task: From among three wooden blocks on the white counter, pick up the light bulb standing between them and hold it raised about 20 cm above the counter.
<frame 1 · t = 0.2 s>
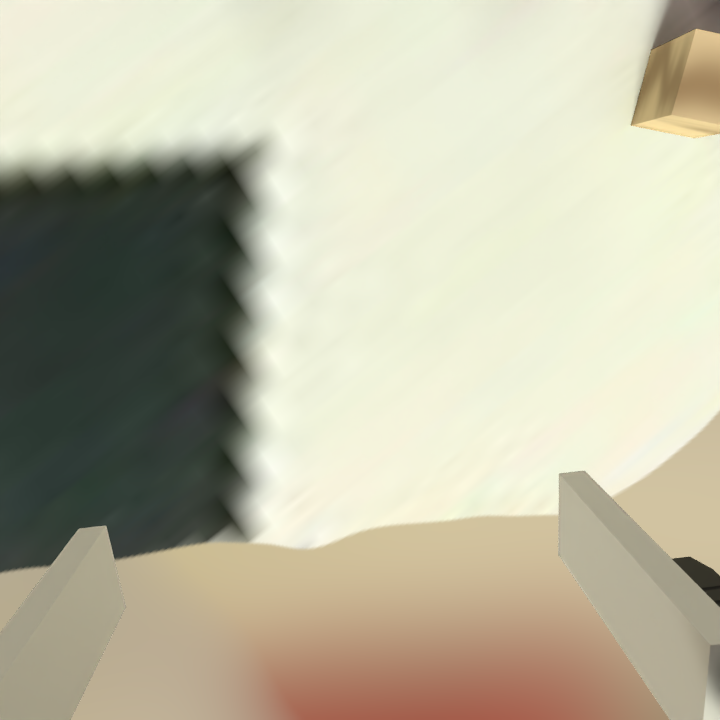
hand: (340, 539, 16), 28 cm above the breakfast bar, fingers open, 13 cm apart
oak block: (672, 95, 40), on the breakfast bar
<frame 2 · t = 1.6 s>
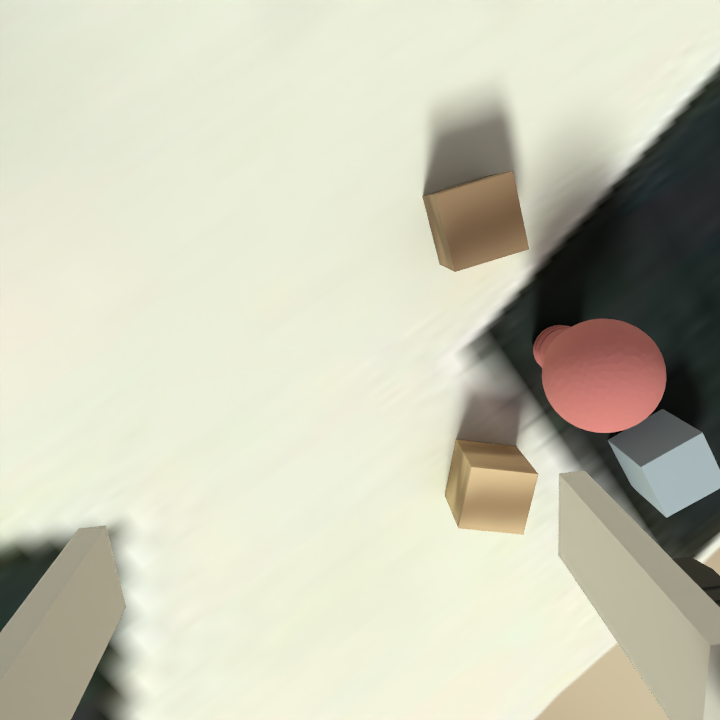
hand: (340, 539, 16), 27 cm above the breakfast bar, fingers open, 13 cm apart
walnut block: (464, 220, 40), on the breakfast bar
oak block: (479, 470, 46), on the breakfast bar
slate-blue painted block: (646, 447, 46), on the breakfast bar
light bulb: (548, 343, 43), on the breakfast bar
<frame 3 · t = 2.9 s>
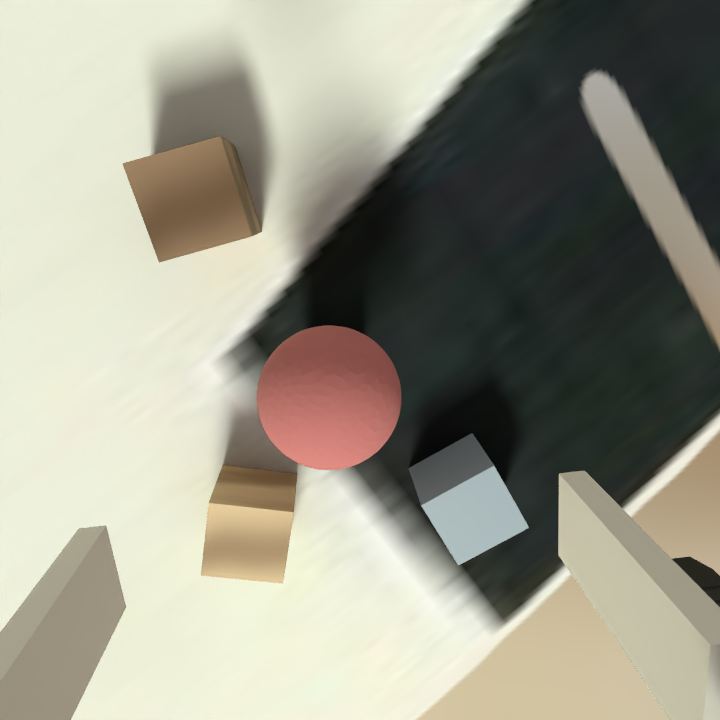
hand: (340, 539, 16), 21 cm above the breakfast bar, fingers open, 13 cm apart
walnut block: (208, 201, 33), on the breakfast bar
oak block: (256, 501, 38), on the breakfast bar
slate-blue painted block: (456, 478, 39), on the breakfast bar
light bulb: (327, 352, 36), on the breakfast bar
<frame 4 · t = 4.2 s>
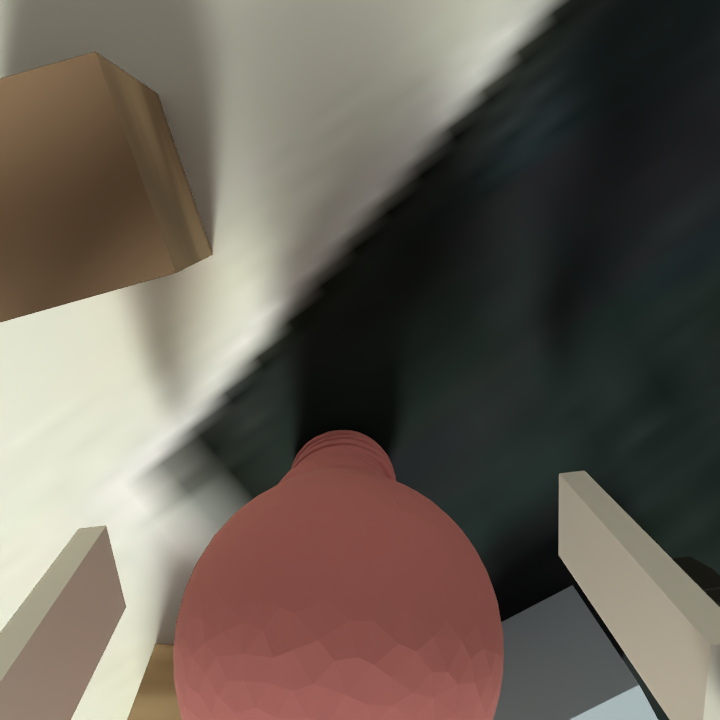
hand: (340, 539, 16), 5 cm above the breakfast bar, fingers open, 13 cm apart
walnut block: (110, 198, 18), on the breakfast bar
oak block: (213, 696, 23), on the breakfast bar
slate-blue painted block: (542, 653, 24), on the breakfast bar
light bulb: (331, 461, 21), on the breakfast bar
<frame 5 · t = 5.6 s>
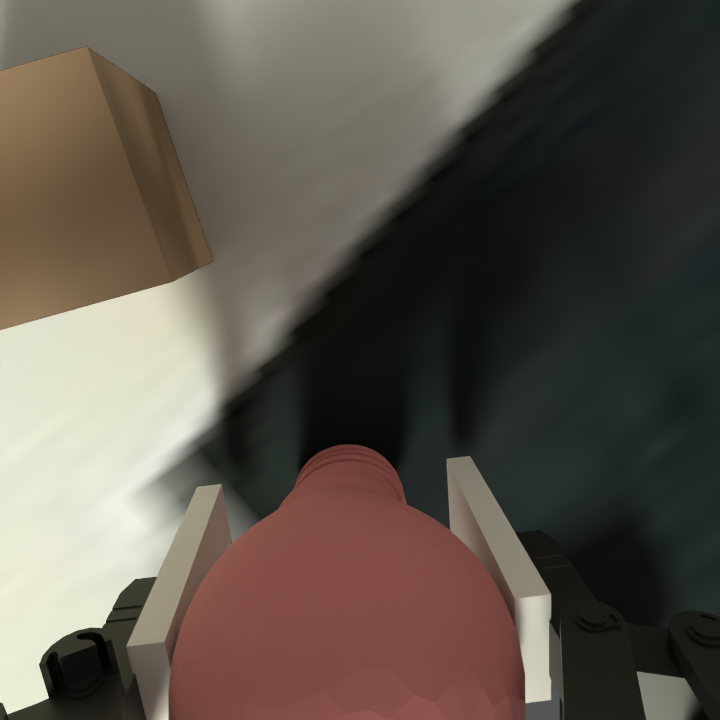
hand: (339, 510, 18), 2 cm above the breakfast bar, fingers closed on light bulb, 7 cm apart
walnut block: (107, 203, 17), on the breakfast bar
slate-blue painted block: (556, 675, 23), on the breakfast bar
light bulb: (337, 476, 20), on the breakfast bar, touching gripper
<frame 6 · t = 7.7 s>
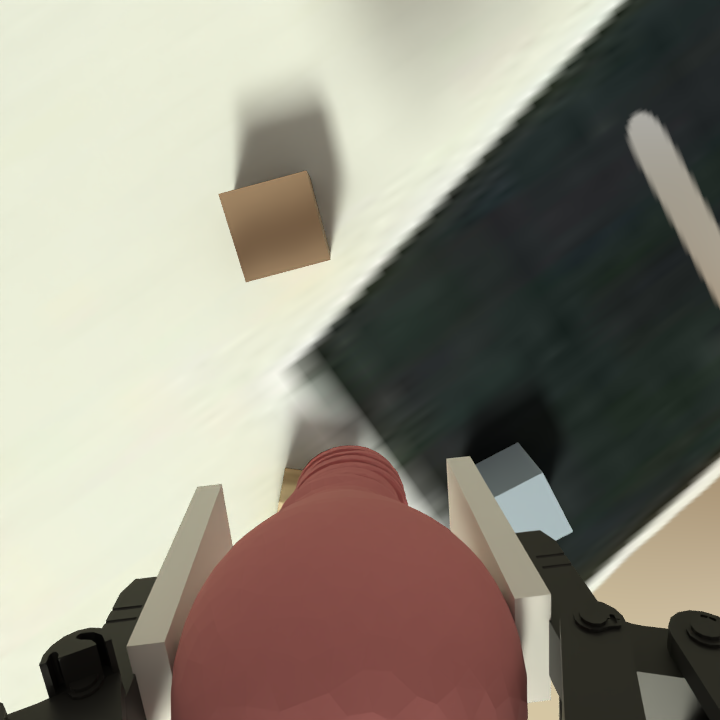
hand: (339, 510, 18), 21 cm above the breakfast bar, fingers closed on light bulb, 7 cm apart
walnut block: (283, 225, 36), on the breakfast bar
oak block: (314, 502, 41), on the breakfast bar
slate-blue painted block: (501, 484, 42), on the breakfast bar
light bulb: (338, 477, 20), point 19 cm above the breakfast bar, touching gripper
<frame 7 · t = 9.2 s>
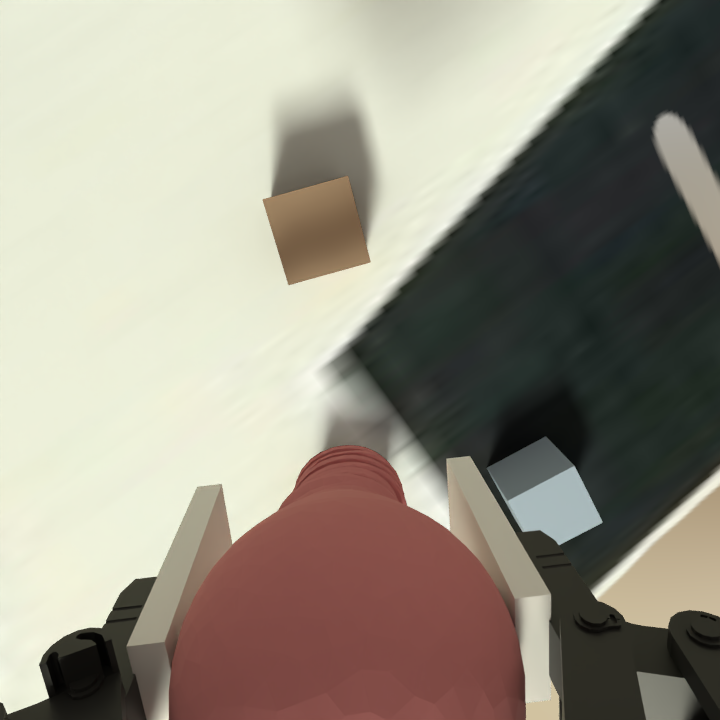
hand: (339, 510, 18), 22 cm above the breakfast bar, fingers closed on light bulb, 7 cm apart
walnut block: (318, 228, 37), on the breakfast bar
slate-blue painted block: (529, 477, 43), on the breakfast bar
light bulb: (337, 477, 20), point 20 cm above the breakfast bar, touching gripper
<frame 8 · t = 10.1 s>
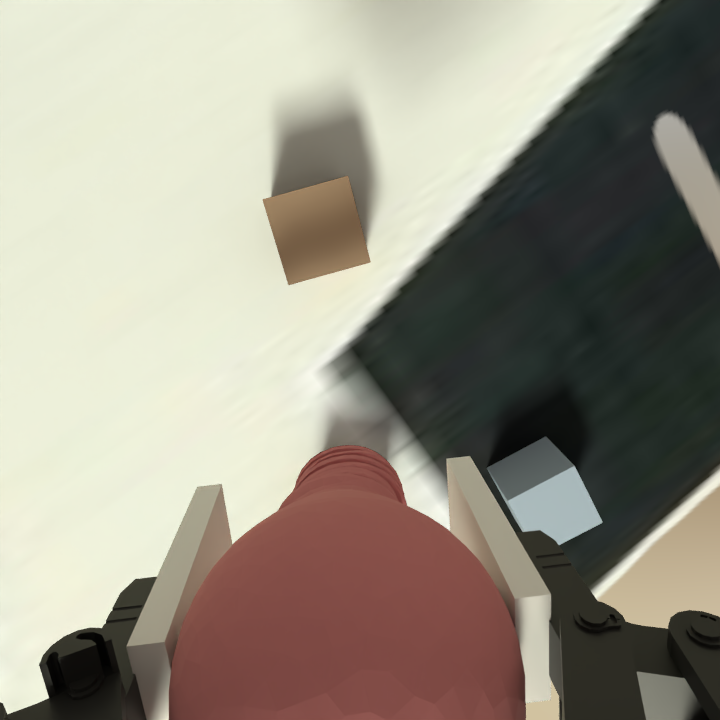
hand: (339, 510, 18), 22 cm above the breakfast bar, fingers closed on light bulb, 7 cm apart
walnut block: (318, 228, 37), on the breakfast bar
slate-blue painted block: (529, 477, 43), on the breakfast bar
light bulb: (337, 477, 20), point 20 cm above the breakfast bar, touching gripper
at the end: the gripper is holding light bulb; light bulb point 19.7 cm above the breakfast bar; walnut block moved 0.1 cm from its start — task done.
